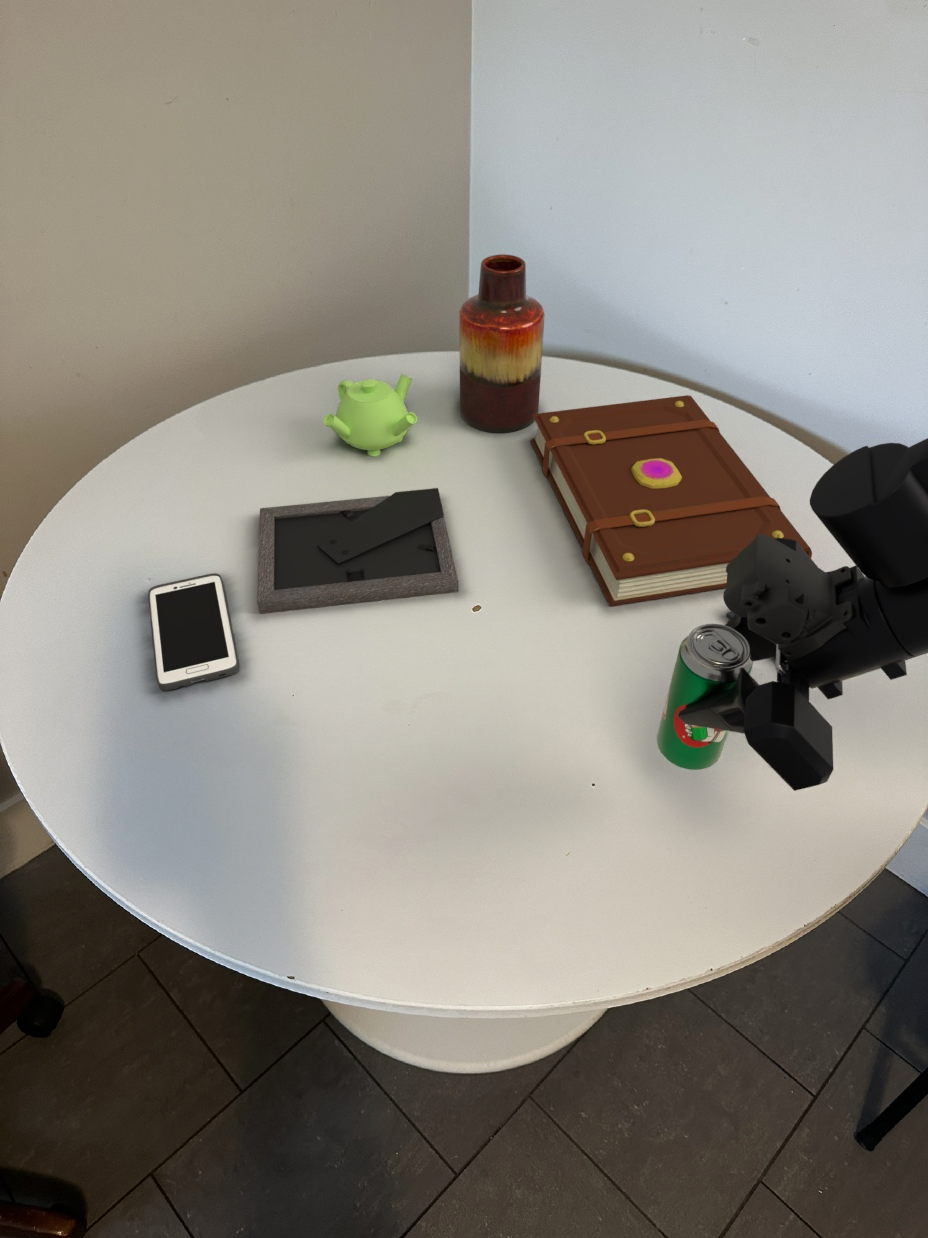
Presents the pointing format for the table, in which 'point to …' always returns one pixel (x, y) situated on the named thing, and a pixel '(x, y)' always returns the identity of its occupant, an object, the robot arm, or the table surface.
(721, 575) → the book
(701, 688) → the soda can
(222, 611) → the cell phone
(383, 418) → the teapot
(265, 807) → the table surface
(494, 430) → the vase
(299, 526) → the picture frame
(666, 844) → the table surface
